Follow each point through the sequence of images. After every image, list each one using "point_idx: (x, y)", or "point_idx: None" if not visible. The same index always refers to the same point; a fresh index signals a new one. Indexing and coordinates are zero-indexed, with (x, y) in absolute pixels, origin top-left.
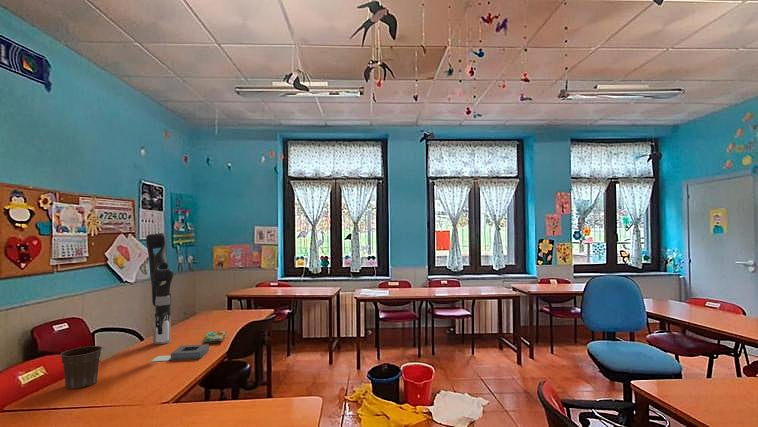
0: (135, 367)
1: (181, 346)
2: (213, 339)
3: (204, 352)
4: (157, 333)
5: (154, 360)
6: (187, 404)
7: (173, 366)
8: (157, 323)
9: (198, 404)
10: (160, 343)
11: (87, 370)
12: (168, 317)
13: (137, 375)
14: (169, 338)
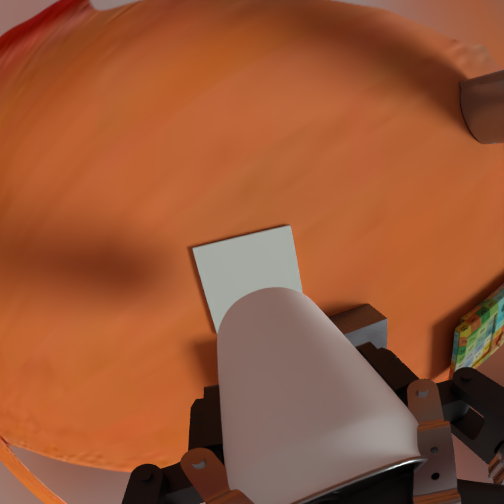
0: (100, 225)
1: (370, 331)
2: (454, 366)
3: None
4: (222, 375)
5: (206, 263)
6: (22, 466)
7: (152, 396)
8: (239, 487)
9: (32, 476)
10: (465, 115)
11: None
12: (480, 453)
13: (33, 314)
14: (495, 143)
